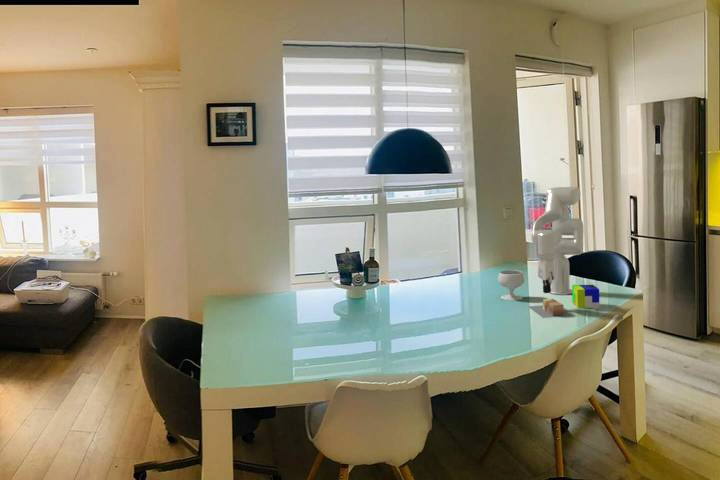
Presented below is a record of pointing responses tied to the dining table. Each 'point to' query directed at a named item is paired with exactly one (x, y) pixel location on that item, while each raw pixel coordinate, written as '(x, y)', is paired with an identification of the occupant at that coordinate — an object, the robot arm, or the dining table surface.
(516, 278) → the chalice
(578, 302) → the puzzle toy
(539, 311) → the rubber mat
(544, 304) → the walnut block
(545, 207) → the robot arm
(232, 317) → the dining table surface
